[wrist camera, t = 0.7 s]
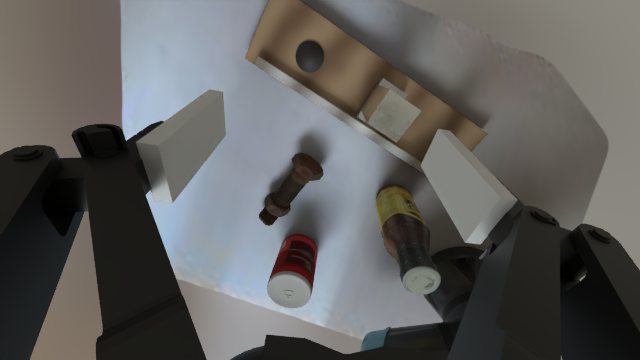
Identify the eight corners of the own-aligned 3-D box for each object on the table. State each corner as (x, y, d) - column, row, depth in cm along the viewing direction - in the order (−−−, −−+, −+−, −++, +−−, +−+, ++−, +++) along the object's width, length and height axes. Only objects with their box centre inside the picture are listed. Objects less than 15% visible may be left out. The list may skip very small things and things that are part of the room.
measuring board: (480, 130, 38) (536, 154, 27) (435, 179, 42) (468, 217, 31) (279, -12, 33) (247, -53, 22) (249, 58, 37) (209, 53, 26)
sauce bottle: (414, 206, 44) (462, 298, 26) (381, 217, 46) (405, 312, 28) (402, 176, 42) (446, 254, 24) (368, 188, 44) (385, 271, 26)
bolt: (268, 207, 50) (310, 152, 44) (282, 226, 48) (328, 172, 42) (246, 212, 45) (291, 152, 39) (262, 234, 43) (311, 175, 37)
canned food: (286, 264, 53) (273, 309, 43) (277, 234, 50) (260, 275, 40) (321, 262, 52) (315, 307, 42) (314, 231, 49) (306, 272, 39)
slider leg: (404, 93, 35) (428, 102, 25) (378, 128, 37) (390, 150, 27) (381, 77, 34) (396, 80, 24) (356, 114, 37) (361, 130, 27)
